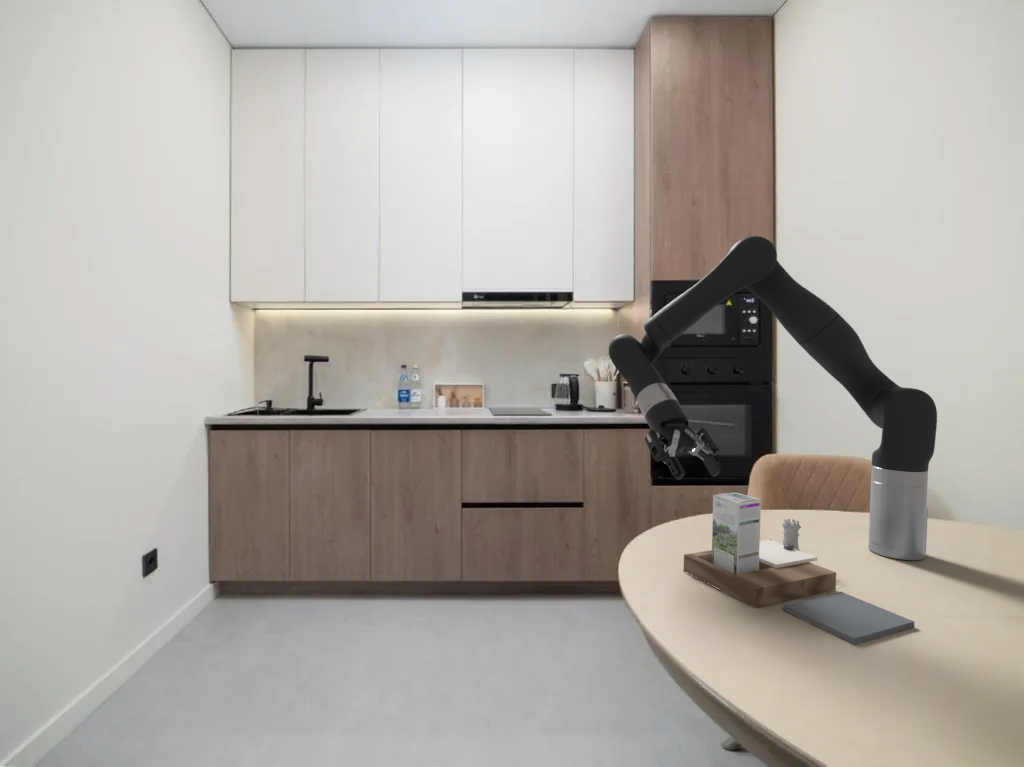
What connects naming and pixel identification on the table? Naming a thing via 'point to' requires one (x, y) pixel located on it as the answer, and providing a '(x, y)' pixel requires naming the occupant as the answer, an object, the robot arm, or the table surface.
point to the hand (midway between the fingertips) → (699, 475)
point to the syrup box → (736, 532)
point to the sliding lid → (782, 554)
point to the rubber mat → (848, 617)
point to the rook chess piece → (791, 533)
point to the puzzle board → (763, 580)
